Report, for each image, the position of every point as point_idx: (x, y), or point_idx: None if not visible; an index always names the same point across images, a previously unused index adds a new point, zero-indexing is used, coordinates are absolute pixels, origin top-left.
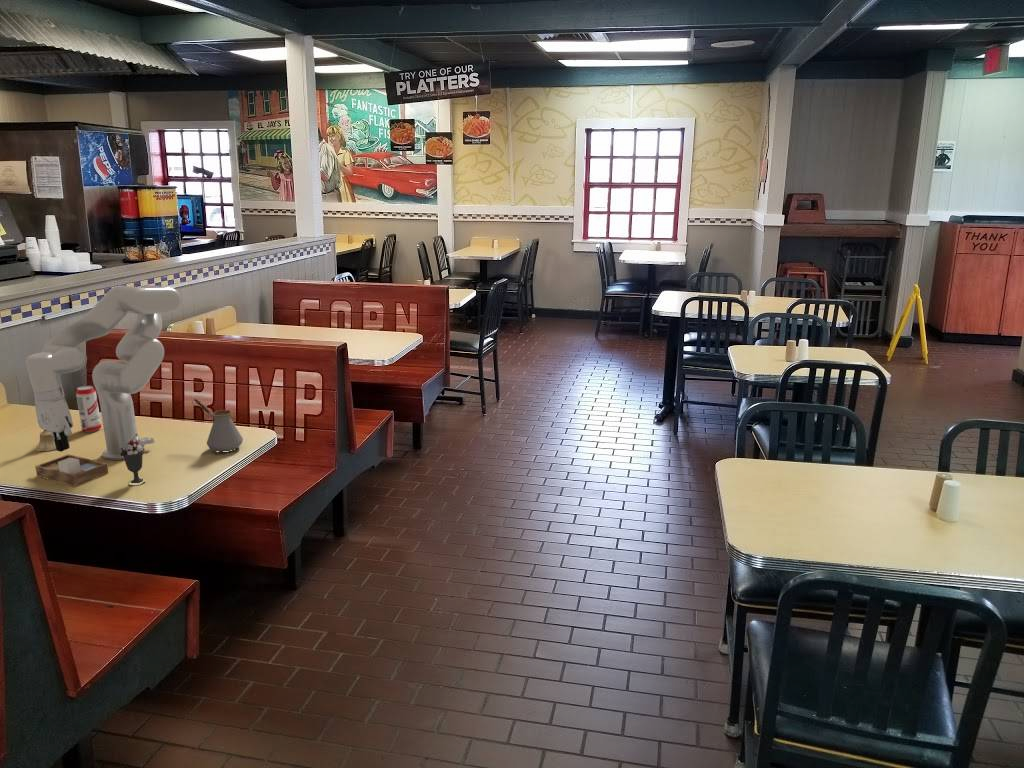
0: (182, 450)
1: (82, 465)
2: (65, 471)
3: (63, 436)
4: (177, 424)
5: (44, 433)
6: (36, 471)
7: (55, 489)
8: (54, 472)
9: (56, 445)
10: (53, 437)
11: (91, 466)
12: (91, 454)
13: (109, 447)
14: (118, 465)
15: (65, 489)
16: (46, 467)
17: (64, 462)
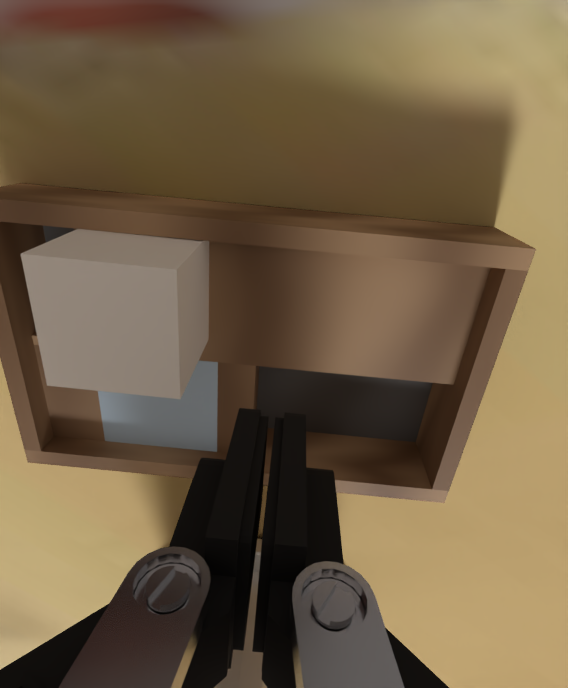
0: None
1: (212, 414)
2: (106, 234)
3: (72, 643)
4: None
5: None
6: (506, 235)
7: (95, 62)
8: (248, 219)
9: (280, 460)
10: (351, 591)
11: (136, 419)
12: (410, 561)
13: (250, 618)
14: (131, 503)
15: (24, 99)
16: (452, 302)
17: (89, 280)
